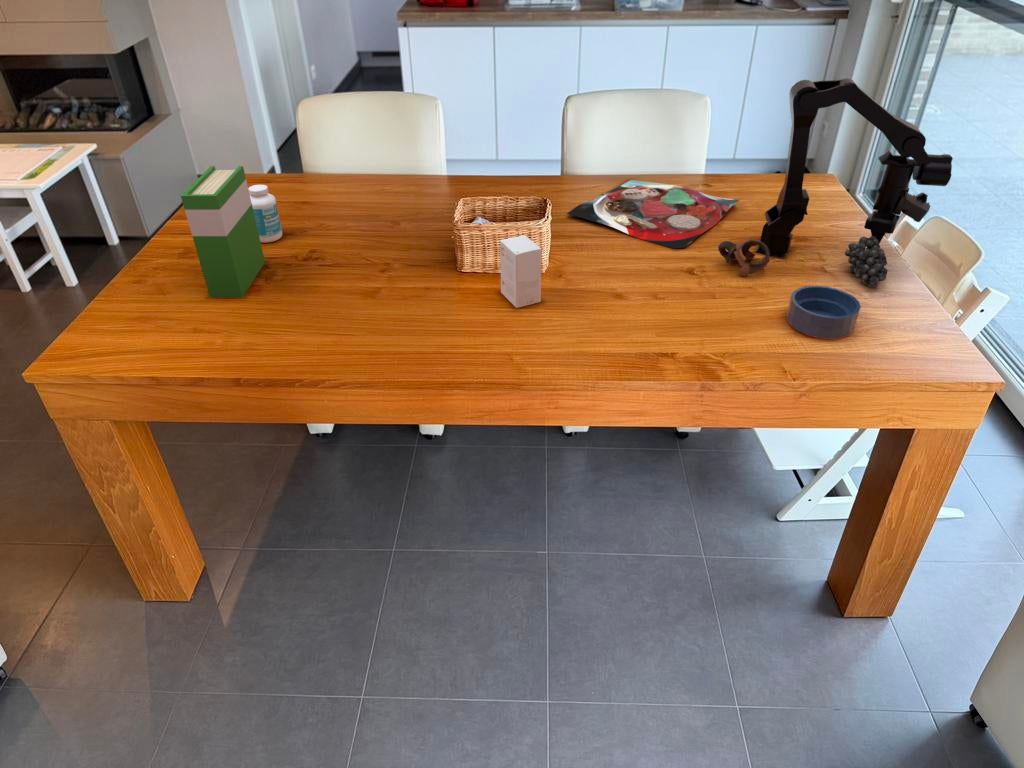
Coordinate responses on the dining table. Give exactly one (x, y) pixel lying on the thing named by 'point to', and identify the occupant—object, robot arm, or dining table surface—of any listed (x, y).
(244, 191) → the hardback book
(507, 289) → the small box
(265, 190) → the pill bottle
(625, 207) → the platter
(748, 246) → the brown looped ring sculpture
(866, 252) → the fruit
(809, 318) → the bowl
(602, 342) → the dining table surface
